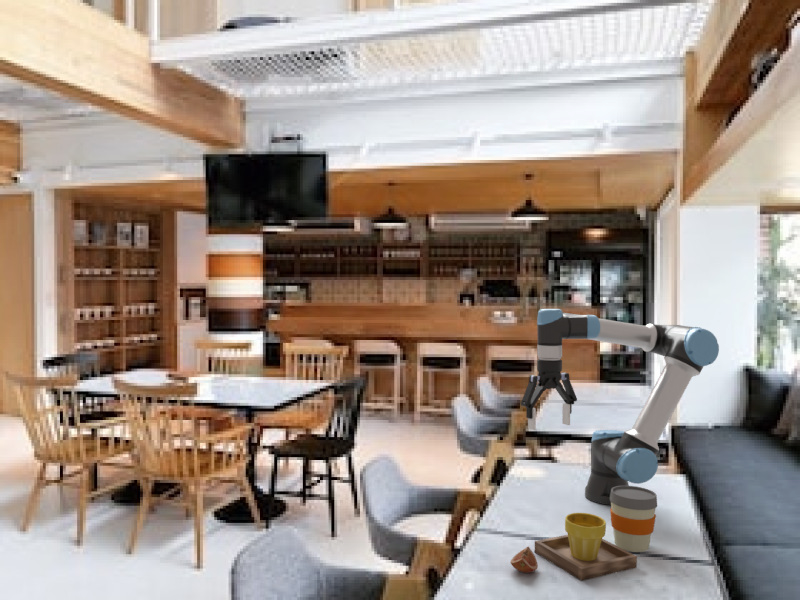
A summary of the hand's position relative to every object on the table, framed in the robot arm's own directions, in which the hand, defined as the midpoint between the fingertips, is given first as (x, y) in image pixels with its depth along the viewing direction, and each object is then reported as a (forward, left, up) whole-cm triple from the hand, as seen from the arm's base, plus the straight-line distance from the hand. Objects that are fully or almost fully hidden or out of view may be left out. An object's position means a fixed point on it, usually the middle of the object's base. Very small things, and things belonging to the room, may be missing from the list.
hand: (549, 426), depth 204 cm
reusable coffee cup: (-7, +28, -28) cm, 40 cm away
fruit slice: (+31, +29, -28) cm, 51 cm away
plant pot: (+12, +30, -27) cm, 42 cm away
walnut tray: (+12, +30, -28) cm, 42 cm away
